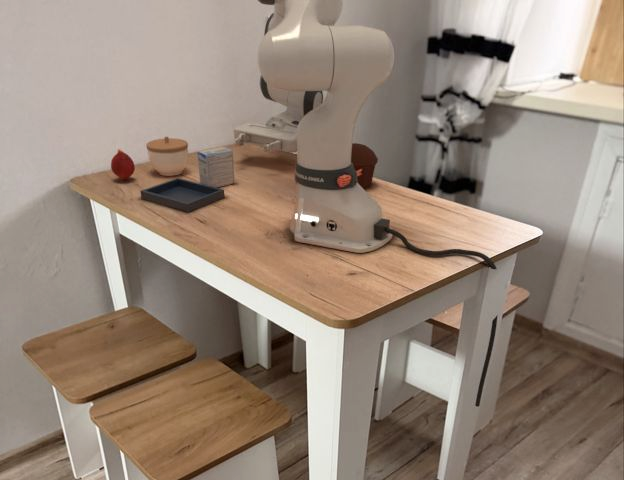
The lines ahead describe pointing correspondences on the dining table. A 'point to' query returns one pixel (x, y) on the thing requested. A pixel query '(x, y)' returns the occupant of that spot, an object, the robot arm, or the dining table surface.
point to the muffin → (363, 163)
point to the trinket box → (168, 155)
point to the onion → (122, 165)
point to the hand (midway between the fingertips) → (251, 145)
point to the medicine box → (216, 167)
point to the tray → (182, 194)
